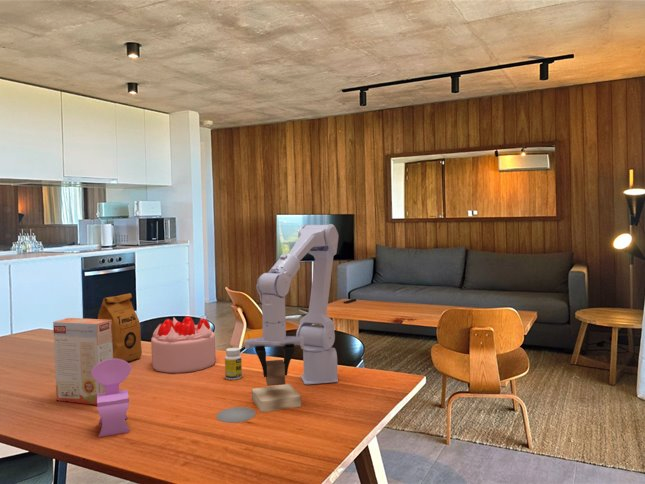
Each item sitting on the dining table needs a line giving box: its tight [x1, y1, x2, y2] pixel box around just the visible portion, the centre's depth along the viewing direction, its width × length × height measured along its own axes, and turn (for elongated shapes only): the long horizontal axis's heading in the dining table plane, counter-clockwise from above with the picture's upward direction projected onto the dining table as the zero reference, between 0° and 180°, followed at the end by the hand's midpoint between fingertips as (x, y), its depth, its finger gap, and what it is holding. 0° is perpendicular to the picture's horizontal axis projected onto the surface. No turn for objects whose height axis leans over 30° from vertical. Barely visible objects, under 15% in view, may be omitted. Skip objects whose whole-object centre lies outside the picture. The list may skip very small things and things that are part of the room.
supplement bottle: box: [224, 347, 243, 381], centre depth 150 cm, size 5×5×8 cm
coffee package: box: [97, 292, 143, 363], centre depth 169 cm, size 10×12×22 cm
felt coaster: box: [216, 406, 256, 424], centre depth 121 cm, size 9×9×1 cm
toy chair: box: [91, 359, 132, 438], centre depth 115 cm, size 8×9×15 cm
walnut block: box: [265, 359, 286, 387], centre depth 129 cm, size 4×4×5 cm
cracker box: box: [52, 317, 113, 406], centre depth 133 cm, size 14×6×21 cm, turn 71°
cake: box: [150, 315, 217, 374], centre depth 164 cm, size 20×20×14 cm
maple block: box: [251, 383, 302, 413], centre depth 129 cm, size 10×10×3 cm
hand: (275, 375), depth 129 cm, fingers closed on walnut block, 4 cm apart
